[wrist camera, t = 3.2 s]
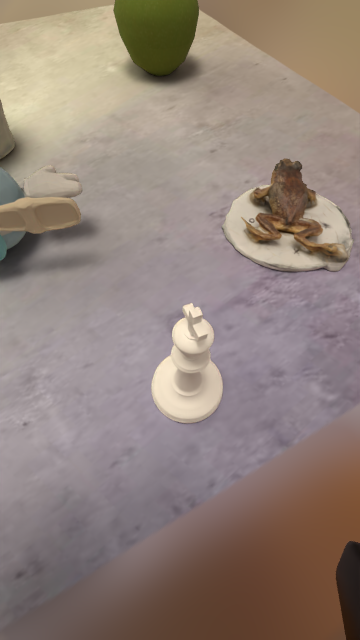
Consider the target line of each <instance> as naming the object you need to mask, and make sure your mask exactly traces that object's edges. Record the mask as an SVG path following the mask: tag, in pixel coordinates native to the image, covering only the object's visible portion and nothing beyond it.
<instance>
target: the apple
mask: <svg viewBox="0 0 360 640" xmlns="http://www.w3.org/2000/svg"><path fill="white" fill-rule="evenodd" d="M113 11H114V14H115V18H116V22H117V26H118V29H119V33H120V36H121V38H122V40H123V42H124V44H125V46H126V48H127V50H128V52H129V54H130V56H131V58H132V60H133V62H134V63H135V64H137V65H138V66H140V67H141V68H143V69H144V70H146V71H147V72H149V73H150V74H153V75H156V76H163V75H168V74H170V73H172V72H173V71H174V70H175V69H176V68H177V67H178V66H179V65H180V64H182V63H183V62H184V61H185V59H186V56H187V54H188V52H189V49H190V47H191V45H192V42H193V40H194V37H195V32H196V26H197V21H198V16H199V7H198V1H197V0H115V5H114V10H113Z"/></svg>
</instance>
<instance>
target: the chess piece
mask: <svg viewBox="0 0 360 640" xmlns="http://www.w3.org/2000/svg"><path fill="white" fill-rule="evenodd" d="M183 313H184V315H185V318H183V319H181V320H179V321H178V322H177V323H176V324H175V326H174V328H173V331H172V339H173V342H174V344H175V345H174V346H173V348H172V351H171V355H170V356H169V357H167V358H166V359H164V360H163V361H162V362H161V363H160V364H159V366H158V367H157V369H156V371H155V373H154V376H153V379H152V386H151V390H152V396H153V399H154V402H155V404H156V406H157V407H158V409H159V410H160V411H161V412H162V413H163V414H164V415H165V416H167V417H168V418H170V419H172V420H174V421H177V422H181V423H195V422H199V421H201V420H204V419H206V418H207V417H209V416H210V415H211V414H212V413H213V412H214V411H215V410H216V409H217V407H218V405H219V403H220V401H221V398H222V393H223V383H222V378H221V375H220V372H219V370H218V368H217V367H216V366H215V364H214V363H213V362H212V361H211V360H210V350H209V348H210V347H211V345H212V343H213V340H214V331H213V328H212V326H211V325H210V324H209V323H208V322H207V321H206V320H204V319H203V318H202V316H203V314H202V312H201V310H200V308H199V307H196V308H194V306H193V304H192V303H190V304H188V305H185V306H183Z"/></svg>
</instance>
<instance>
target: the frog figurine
mask: <svg viewBox="0 0 360 640" xmlns="http://www.w3.org/2000/svg"><path fill="white" fill-rule="evenodd" d="M301 169H302V165H301V163H300V162H299V161H295V162H291V161H290V160H289V159H283V160H280V163H278V164H276V166H275V169H274V170H273V173H272V178H271V185H262V186H260V187H256V188H252V189H250V190H249V191H247V192H245V193H244V194H242V195H241V196H240V197H239V198H237V199H236V200H234V201H233V204H232V206H231V209H230V211H229V213H228V214H227V215H226V220H225V223H224V225H223V226H222V229H223V230H224V234H225V236H226V238H227V240H228V241H229V242H230V243H231V244H233V246H235V247H234V248H235V249H236V250H238V251H239V252H240V253H241V254H243V255H244V256H245V257H247V258H250V259H251V260H252V261H254V262H256V263H257V264H260V265H262V266H265V267H268V268H271V269H275V270H280V271H293V272H294V271H295V272H299V271H308V270H309V271H310V270H316V269H318V268H325V269H327V270H329V271H339V270H340V269H341V268H342V267H343V266H344V265H345V263H346V262H347V261H348V259H349V257H350V252H351V248H352V244H353V242H354V240H352V239H351V232H352V231H351V229H350V224H349V221H348V219H347V218H346V217H345V215H344V214H343V213H342V211H341V209H340V208H339V206H336V205H335V204H334V203H333V202H331V201H329V200H328V199H326V198H324V197H322V196H319V195H318V194H316V192H315V191H313V190H310V189H308V188H307V187H306V186H307V185H306V184H304V183H303V181H302V174H301V172H300V170H301Z"/></svg>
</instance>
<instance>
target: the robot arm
mask: <svg viewBox="0 0 360 640" xmlns="http://www.w3.org/2000/svg"><path fill="white" fill-rule="evenodd" d="M336 581H337V587H338V593H339V599H340V605H341V611H342V617H343V622H344V629H345V635H346V640H360V543H358V542H353V541H349V542H348V543H347V545H346V546H345V549H344V551H343V554H342V556H341V558H340V561H339V563H338V566H337V570H336Z"/></svg>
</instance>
